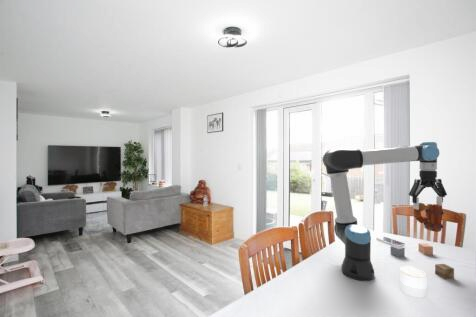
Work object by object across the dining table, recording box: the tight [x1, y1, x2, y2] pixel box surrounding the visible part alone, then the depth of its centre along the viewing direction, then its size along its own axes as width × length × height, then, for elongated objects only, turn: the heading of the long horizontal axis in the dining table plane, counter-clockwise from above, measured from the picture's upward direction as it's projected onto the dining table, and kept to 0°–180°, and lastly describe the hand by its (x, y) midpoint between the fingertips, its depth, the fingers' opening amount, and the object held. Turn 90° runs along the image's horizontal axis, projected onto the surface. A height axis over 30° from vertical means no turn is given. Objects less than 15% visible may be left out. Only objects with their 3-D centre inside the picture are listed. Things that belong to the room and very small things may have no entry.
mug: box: [413, 202, 445, 233], centre depth 131 cm, size 15×8×15 cm, turn 84°
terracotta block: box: [418, 242, 434, 256], centre depth 145 cm, size 5×5×5 cm
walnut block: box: [434, 263, 455, 280], centre depth 118 cm, size 5×5×5 cm
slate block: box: [390, 244, 406, 258], centre depth 143 cm, size 5×5×5 cm
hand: (427, 208), depth 131 cm, fingers closed on mug, 13 cm apart
